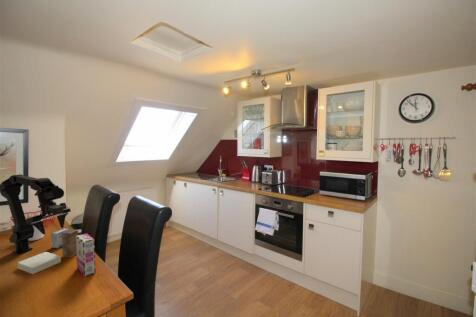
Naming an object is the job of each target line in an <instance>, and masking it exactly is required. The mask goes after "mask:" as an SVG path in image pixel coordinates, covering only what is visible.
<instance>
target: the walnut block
mask: <svg viewBox="0 0 476 317" xmlns="http://www.w3.org/2000/svg"><path fill="white" fill-rule="evenodd" d="M68 229H69V230H67V231H65V232H63V233H62V247H61V248H62V249H61V250H62V257H64V258H72V257H74V256H77V249H76V236H78V235H79V230H78V229H72V228H68Z"/></svg>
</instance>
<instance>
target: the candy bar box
mask: <svg viewBox="0 0 476 317" xmlns="http://www.w3.org/2000/svg"><path fill="white" fill-rule="evenodd" d="M95 245H96V243H95V239H94V238H93V237H92V236H91V235H89V234H88V233H82V234H78V236H76V249H77V254H76V264H77V265H76V267H77V268H76V269H77V270H78V271H79V272H80V274H82V276H83V277H88V276H91V275H94V274H95V273H96V248H95V247H96V246H95Z"/></svg>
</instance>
